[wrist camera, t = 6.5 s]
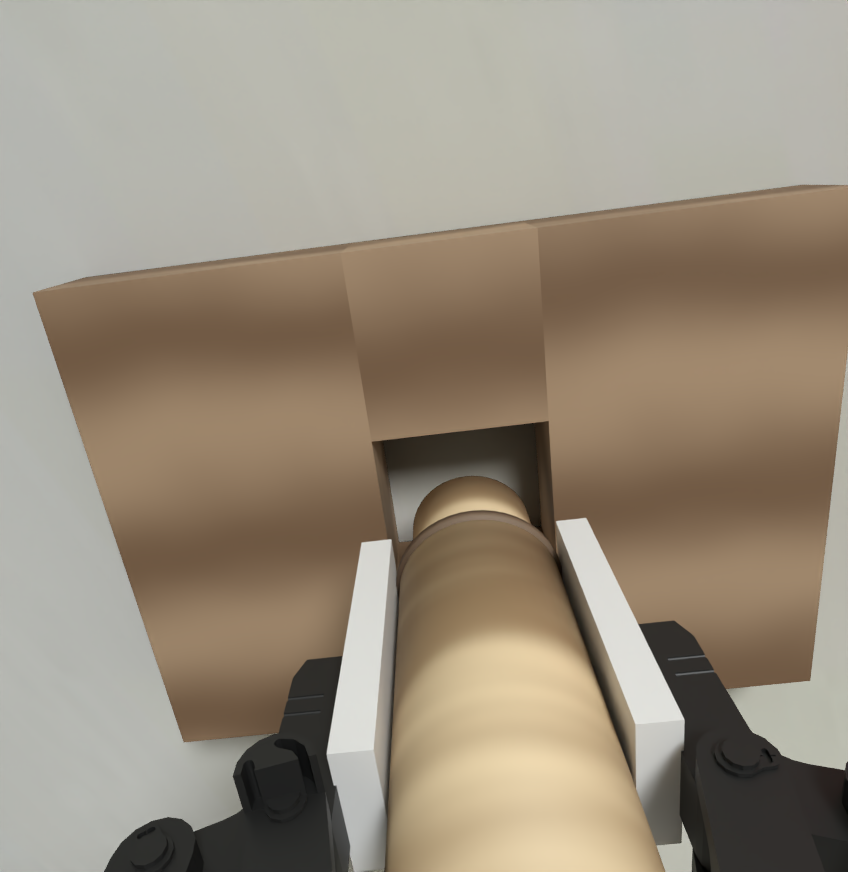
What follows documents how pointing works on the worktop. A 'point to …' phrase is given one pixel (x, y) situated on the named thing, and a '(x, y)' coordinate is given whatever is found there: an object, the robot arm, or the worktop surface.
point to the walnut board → (469, 423)
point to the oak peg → (500, 706)
